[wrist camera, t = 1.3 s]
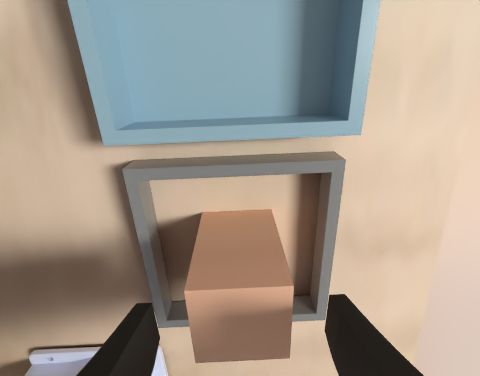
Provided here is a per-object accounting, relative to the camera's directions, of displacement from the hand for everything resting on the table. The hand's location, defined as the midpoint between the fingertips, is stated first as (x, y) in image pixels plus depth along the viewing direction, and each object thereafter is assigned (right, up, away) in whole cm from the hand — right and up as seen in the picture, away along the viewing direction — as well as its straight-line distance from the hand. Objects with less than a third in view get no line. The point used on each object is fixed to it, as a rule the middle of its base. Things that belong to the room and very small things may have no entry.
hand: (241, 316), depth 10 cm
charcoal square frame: (0, +2, +5) cm, 6 cm away
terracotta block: (0, +2, +5) cm, 6 cm away
